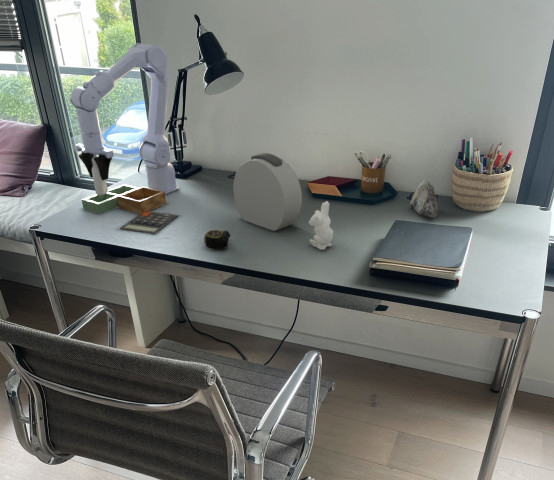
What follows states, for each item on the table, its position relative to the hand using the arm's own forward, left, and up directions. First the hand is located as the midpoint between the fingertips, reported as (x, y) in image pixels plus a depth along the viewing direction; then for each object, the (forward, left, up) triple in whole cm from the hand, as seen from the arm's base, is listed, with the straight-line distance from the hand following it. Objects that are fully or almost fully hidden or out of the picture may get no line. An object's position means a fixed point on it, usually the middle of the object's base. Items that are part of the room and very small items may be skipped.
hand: (99, 178), depth 176 cm
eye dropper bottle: (0, 0, -5) cm, 5 cm away
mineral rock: (-50, +88, -10) cm, 102 cm away
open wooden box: (-7, +10, -9) cm, 15 cm away
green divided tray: (-4, 0, -9) cm, 10 cm away
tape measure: (+4, +50, -10) cm, 51 cm away
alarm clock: (-18, +51, -10) cm, 55 cm away
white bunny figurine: (-11, +74, -10) cm, 76 cm away
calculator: (+2, +21, -10) cm, 24 cm away
